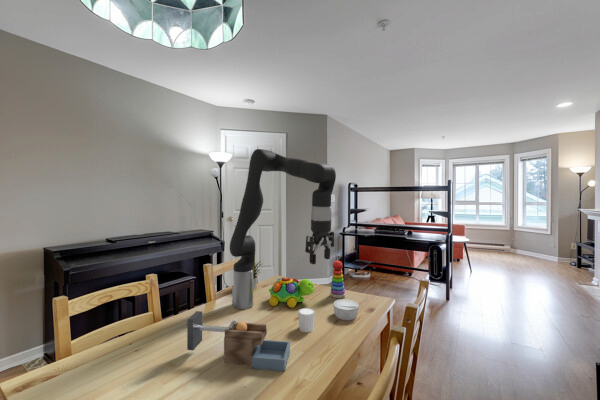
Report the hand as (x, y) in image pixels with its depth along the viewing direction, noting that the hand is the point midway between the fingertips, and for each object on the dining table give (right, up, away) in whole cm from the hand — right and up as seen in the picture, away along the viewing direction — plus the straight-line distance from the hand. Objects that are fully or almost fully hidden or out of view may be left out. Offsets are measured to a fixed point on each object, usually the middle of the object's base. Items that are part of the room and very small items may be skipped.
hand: (320, 261), depth 101 cm
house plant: (-34, -27, +53) cm, 68 cm away
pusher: (-36, -25, -12) cm, 46 cm away
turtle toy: (-12, -28, +34) cm, 45 cm away
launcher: (-25, -28, -13) cm, 40 cm away
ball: (-26, -19, -13) cm, 35 cm away
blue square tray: (-17, -28, -14) cm, 36 cm away
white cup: (-5, -28, +6) cm, 29 cm away
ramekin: (+13, -28, +18) cm, 36 cm away
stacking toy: (+12, -28, +41) cm, 51 cm away
